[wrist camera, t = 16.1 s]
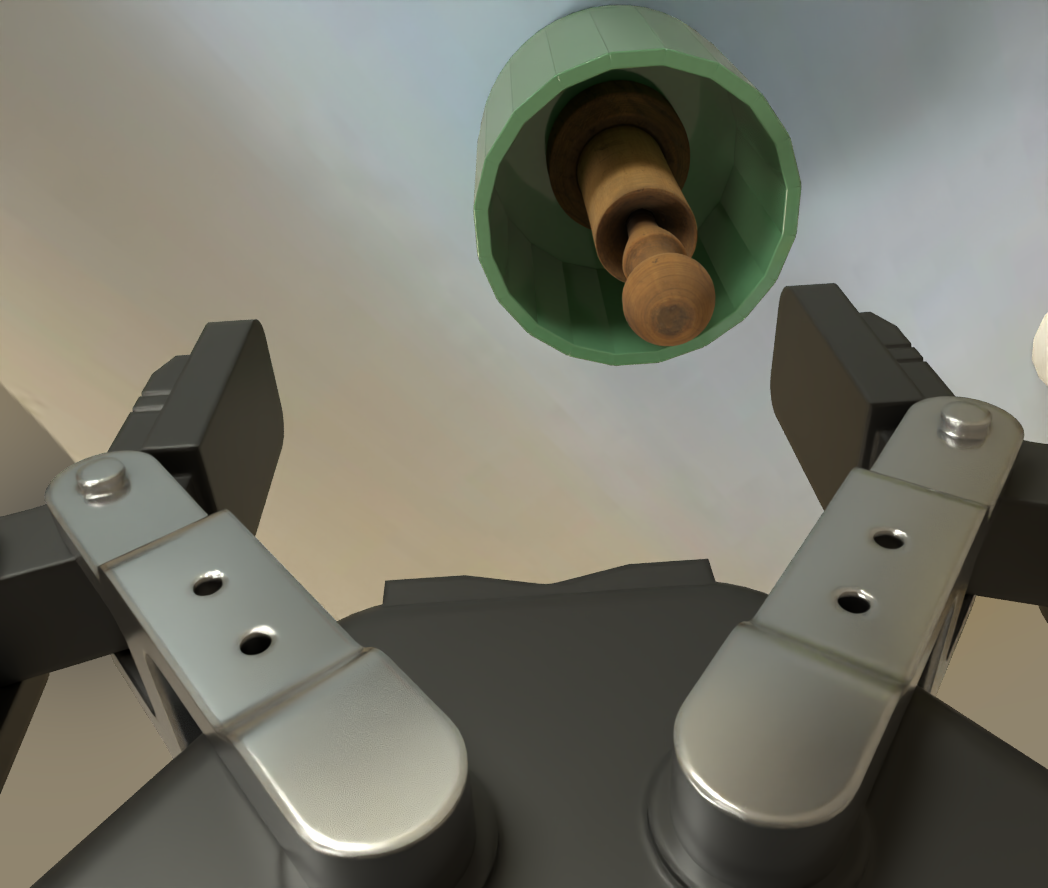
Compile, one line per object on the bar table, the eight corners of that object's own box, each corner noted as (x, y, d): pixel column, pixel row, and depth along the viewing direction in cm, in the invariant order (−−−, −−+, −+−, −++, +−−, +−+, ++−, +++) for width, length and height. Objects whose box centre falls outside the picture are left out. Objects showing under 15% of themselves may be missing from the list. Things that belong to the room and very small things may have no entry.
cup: (490, 280, 49) (489, 374, 40) (466, 15, 42) (458, 63, 33) (735, 263, 48) (784, 354, 40) (753, -7, 41) (817, 36, 33)
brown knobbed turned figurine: (638, 238, 47) (706, 434, 32) (522, 185, 45) (536, 365, 30) (708, 116, 43) (820, 270, 29) (586, 53, 42) (636, 181, 27)
